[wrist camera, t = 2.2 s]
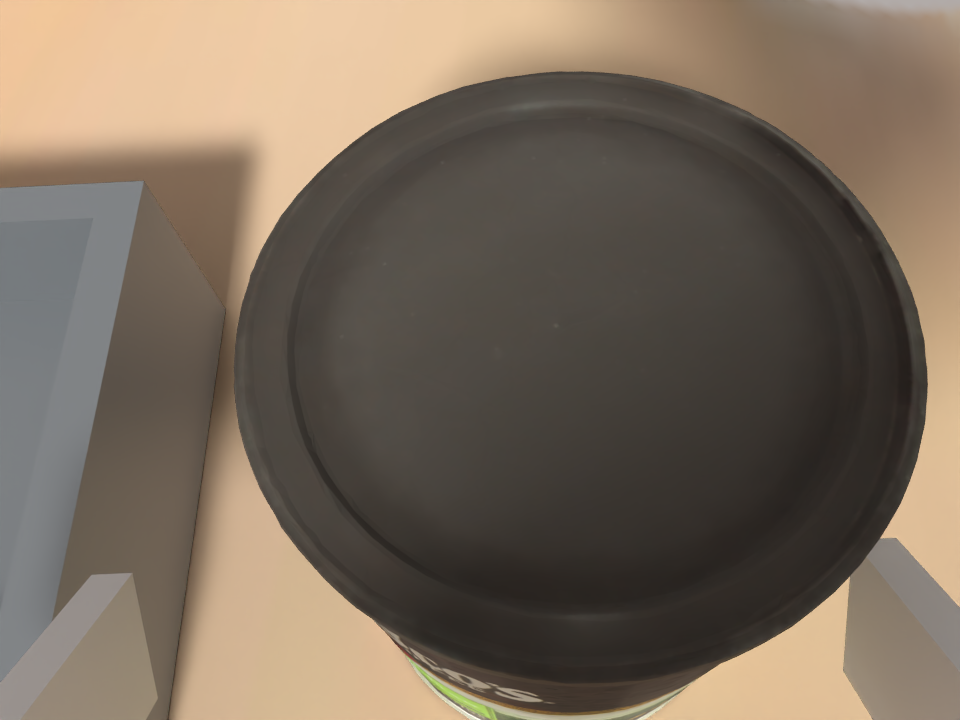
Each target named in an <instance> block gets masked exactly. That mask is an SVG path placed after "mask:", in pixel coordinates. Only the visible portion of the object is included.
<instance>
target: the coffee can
mask: <svg viewBox="0 0 960 720" xmlns="http://www.w3.org/2000/svg"><path fill="white" fill-rule="evenodd" d="M234 376H235V382H234V390H235V401H236V409H237V416H238V423H239V429H240V432H241V436H242V440H243V444H244V448H245V451H246V453H247V456H248V459H249V462H250V465H251V467H252V470H253V472H254V475H255V477H256V480H257V482H258V485H259V487H260V489H261V491H262V493H263V495H264V497H265V498H266V500H267V502H268V504H269V505H270V507H271V509H272V510H273V512H274V514H275V515H276V517H277V519H278V521H279V523H280V525H281V527H282V529H283V530H284V531H285V533H286V534H287V535H288V536H289V538H290V539H291V540H292V542H293V543H294V544H295V546H296V547H297V548H298V550H299V551H300V552H301V553H302V554H303V555H304V556H305V558H306V559H307V560H308V561H309V562H310V563H311V564H312V565H313V567H314V568H315V569H316V570H317V571H318V572H319V573H320V574H321V576H322V577H323V578H324V579H325V580H326V581H327V582H328V583H329V584H330V585H331V586H332V587H333V588H334V589H335V590H337V591H338V592H339V593H340V594H341V595H342V596H343V597H344V598H345V599H347V600H348V601H349V602H350V603H351V604H352V605H354V606H355V607H356V608H357V609H359V610H360V611H362V612H363V613H365V614H366V615H367V616H369V617H370V618H372V619H373V620H374V621H375V622H376V623H377V624H378V625H379V626H380V627H381V628H382V629H383V630H384V631H385V632H386V633H387V635H388V636H389V637H390V638H391V639H392V640H393V642H394V643H395V644H396V645H397V646H398V647H399V648H400V649H401V651H402V652H403V653H404V654H405V656H406V657H407V659H408V660H409V662H410V663H411V665H412V667H413V668H414V670H415V671H416V673H417V674H418V675H419V677H420V678H421V679H422V680H423V681H424V682H425V683H426V684H427V685H428V686H429V687H430V688H431V690H432V691H433V692H434V693H435V694H437V695H438V696H439V697H440V698H441V699H442V700H443V701H444V702H446V703H447V704H448V705H450V706H451V707H452V708H454V709H455V710H457V711H458V712H460V713H461V714H463V715H464V716H466V717H467V718H469V719H471V720H645V719H647V718H648V717H650V716H651V715H653V714H654V713H655V712H657V711H658V710H660V709H661V708H663V707H664V706H665V705H666V704H667V703H669V702H670V701H671V700H672V699H673V698H675V697H676V696H677V695H678V694H679V693H680V692H681V691H682V690H684V689H685V688H686V687H687V686H688V685H690V684H691V683H692V682H694V681H695V680H697V679H698V678H699V677H701V676H702V675H704V674H705V673H707V672H708V671H710V670H712V669H713V668H714V667H716V666H717V665H719V664H720V663H723V662H725V661H728V660H730V659H732V658H735V657H737V656H739V655H741V654H743V653H745V652H747V651H749V650H751V649H753V648H755V647H757V646H759V645H761V644H763V643H765V642H767V641H768V640H770V639H772V638H773V637H775V636H777V635H778V634H780V633H782V632H784V631H785V630H787V629H789V628H790V627H792V626H793V625H795V624H796V623H797V622H798V621H800V620H801V619H802V618H804V617H805V616H806V615H808V614H809V613H810V612H811V611H813V610H814V609H815V608H816V607H817V606H819V605H820V604H821V603H822V602H823V601H825V600H826V599H827V598H828V597H829V596H830V595H832V594H833V593H834V592H835V591H836V590H837V589H838V588H839V587H840V586H841V585H842V584H843V583H844V582H845V581H846V580H847V579H848V577H849V576H850V575H851V574H852V573H853V572H854V571H855V570H856V569H857V568H858V567H859V566H860V565H861V563H862V562H863V561H864V559H865V558H866V557H867V555H868V554H869V553H870V551H871V550H872V549H873V547H874V546H875V545H876V543H877V542H878V540H879V539H880V537H881V536H882V534H883V532H884V531H885V529H886V528H887V526H888V524H889V523H890V521H891V519H892V517H893V516H894V514H895V512H896V510H897V509H898V507H899V505H900V503H901V501H902V499H903V496H904V494H905V492H906V489H907V487H908V484H909V482H910V479H911V476H912V473H913V470H914V467H915V464H916V462H917V458H918V453H919V448H920V444H921V439H922V434H923V430H924V425H925V416H926V402H927V387H928V382H927V365H926V357H925V344H924V338H923V333H922V329H921V325H920V321H919V316H918V311H917V307H916V304H915V301H914V298H913V295H912V292H911V289H910V287H909V285H908V282H907V280H906V278H905V275H904V273H903V271H902V269H901V267H900V264H899V262H898V260H897V258H896V256H895V254H894V252H893V251H892V249H891V247H890V245H889V244H888V242H887V240H886V238H885V237H884V235H883V233H882V232H881V230H880V229H879V227H878V226H877V224H876V223H875V221H874V220H873V218H872V217H871V215H870V214H869V213H868V211H867V210H866V209H865V208H864V206H863V205H862V204H861V203H860V201H859V200H858V199H857V198H856V196H855V195H854V194H853V193H852V192H851V191H850V190H849V188H848V187H847V186H846V185H845V184H844V183H843V182H842V181H841V180H840V179H839V178H837V177H836V176H835V175H834V174H833V173H832V172H831V170H830V169H829V168H827V167H826V166H825V165H824V164H823V163H822V162H821V161H819V160H818V159H816V158H815V157H814V156H813V155H812V154H811V153H810V152H809V151H807V150H806V149H805V148H804V147H803V146H801V145H800V144H799V143H797V142H796V141H794V140H793V139H791V138H790V137H789V136H787V135H786V134H784V133H783V132H782V131H780V130H779V129H778V128H776V127H774V126H773V125H771V124H769V123H767V122H766V121H764V120H761V119H759V118H757V117H755V116H754V115H752V114H751V113H749V112H747V111H745V110H743V109H740V108H738V107H736V106H734V105H731V104H729V103H726V102H724V101H722V100H719V99H717V98H714V97H712V96H709V95H706V94H703V93H700V92H697V91H694V90H692V89H688V88H685V87H681V86H677V85H674V84H670V83H667V82H663V81H658V80H653V79H648V78H642V77H637V76H631V75H622V74H611V73H599V72H547V73H537V74H529V75H522V76H515V77H506V78H501V79H496V80H491V81H486V82H482V83H477V84H473V85H469V86H464V87H461V88H458V89H455V90H452V91H449V92H447V93H444V94H441V95H438V96H435V97H433V98H431V99H428V100H426V101H424V102H421V103H419V104H417V105H415V106H412V107H410V108H408V109H406V110H403V111H401V112H399V113H398V114H396V115H394V116H392V117H391V118H389V119H387V120H385V121H384V122H382V123H380V124H379V125H377V126H375V127H374V128H372V129H371V130H369V131H368V132H367V133H365V134H364V135H362V136H361V137H360V138H358V139H357V140H356V141H354V142H353V143H352V144H350V145H349V146H348V147H347V148H346V149H344V150H343V151H342V152H341V153H340V154H338V155H337V156H336V157H335V158H334V159H333V160H331V161H330V162H329V163H328V164H327V165H326V166H325V167H324V168H323V169H322V170H321V171H320V172H319V173H317V175H316V176H315V177H314V178H313V179H312V180H311V181H310V182H309V183H308V184H307V185H306V186H305V187H304V188H303V190H302V191H301V192H300V193H299V194H298V195H297V196H296V198H295V199H294V200H293V202H292V203H291V204H290V206H289V207H288V208H287V209H286V210H285V212H284V213H283V214H282V215H281V217H280V219H279V220H278V222H277V224H276V225H275V227H274V229H273V230H272V232H271V234H270V236H269V237H268V239H267V241H266V242H265V244H264V246H263V248H262V250H261V252H260V254H259V256H258V259H257V261H256V264H255V267H254V269H253V271H252V273H251V275H250V281H249V284H248V287H247V290H246V293H245V296H244V300H243V303H242V307H241V312H240V318H239V323H238V328H237V336H236V346H235V359H234Z"/></svg>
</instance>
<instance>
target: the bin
mask: <svg viewBox="0 0 960 720" xmlns="http://www.w3.org/2000/svg"><path fill="white" fill-rule="evenodd" d="M225 310H226V309H225V308H224V306H223V304H222V303H221V301H220V300H219V298H218V297H217V295H216V293H215V292H214V290H213V289H212V287H211V286H210V284H209V282H208V281H207V279H206V278H205V276H204V275H203V273H202V271H201V270H200V268H199V267H198V265H197V264H196V262H195V260H194V259H193V257H192V256H191V254H190V253H189V251H188V249H187V248H186V246H185V245H184V243H183V242H182V240H181V238H180V237H179V235H178V234H177V232H176V231H175V229H174V227H173V226H172V224H171V223H170V221H169V219H168V218H167V216H166V215H165V213H164V212H163V210H162V208H161V207H160V205H159V204H158V202H157V201H156V199H155V197H154V196H153V194H152V193H151V191H150V190H149V188H148V186H147V185H146V183H145V182H144V181H130V182H110V183H90V184H71V185H51V186H31V187H11V188H0V682H1V681H2V680H3V679H4V678H5V677H6V675H7V674H8V673H9V672H10V671H11V669H12V668H13V667H14V666H15V665H16V664H17V662H18V661H19V660H20V659H21V658H22V656H23V655H24V654H25V653H26V652H27V651H28V649H29V648H30V647H31V646H32V645H33V643H34V642H35V641H36V640H37V639H38V638H39V636H40V635H41V634H42V633H43V632H44V630H45V629H46V628H47V627H48V626H49V625H50V623H51V622H52V621H53V620H54V619H55V617H56V616H57V615H58V614H59V613H60V612H61V610H62V609H63V608H64V607H65V606H66V604H67V603H68V602H69V601H70V600H71V599H72V597H73V596H74V595H75V594H76V593H77V591H78V590H79V589H80V588H81V587H82V586H83V584H84V583H85V582H86V581H87V580H88V578H89V577H90V576H91V575H97V574H119V573H133V578H134V583H135V588H136V593H137V598H138V603H139V608H140V613H141V618H142V622H143V627H144V632H145V637H146V642H147V647H148V652H149V657H150V662H151V667H152V672H153V676H154V681H155V686H156V691H157V696H158V699H157V701H156V703H155V704H154V706H153V708H152V710H151V712H150V713H149V715H148V717H147V719H146V720H167V719H168V712H169V705H170V698H171V691H172V684H173V677H174V670H175V663H176V656H177V649H178V642H179V635H180V627H181V620H182V613H183V606H184V599H185V592H186V585H187V578H188V571H189V564H190V557H191V550H192V543H193V536H194V529H195V522H196V515H197V508H198V500H199V493H200V486H201V479H202V472H203V465H204V458H205V451H206V444H207V437H208V430H209V423H210V416H211V409H212V402H213V395H214V388H215V381H216V373H217V366H218V359H219V352H220V345H221V338H222V331H223V324H224V317H225Z"/></svg>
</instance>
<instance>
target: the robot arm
mask: <svg viewBox="0 0 960 720" xmlns="http://www.w3.org/2000/svg"><path fill="white" fill-rule="evenodd" d="M843 671H844V673H845V674H846V676H847V678H848V679H849V681H850V683H851V684H852V686H853V688H854V689H855V691H856V692H857V694H858V696H859V697H860V699H861V701H862V702H863V704H864V706H865V707H866V709H867V711H868V712H869V714H870V715H871V717H872V719H873V720H960V607H959V606H958V605H957V604H956V603H955V602H954V601H953V600H952V599H951V598H950V597H949V595H948V594H947V593H946V592H945V591H944V590H943V589H942V588H941V587H940V586H939V584H938V583H937V582H936V581H935V580H934V579H933V578H932V577H931V576H930V575H929V573H928V572H927V571H926V570H925V569H924V568H923V567H922V566H921V565H920V564H919V563H918V561H917V560H916V559H915V558H914V557H913V556H912V555H911V554H910V553H909V552H908V550H907V549H906V548H905V547H904V546H903V545H902V544H901V543H900V542H899V541H898V539H897V538H883V539H879V540H878V542H877V543H876V545H875V546H874V547H873V549H872V550H871V551H870V553H869V554H868V555H867V557H866V558H865V559H864V561H863V562H862V563H861V565H860V566H859V567H858V568H857V569H856V570H855V571H854V572H853V573H852V574H851V575H850V584H849V597H848V611H847V624H846V638H845V651H844V665H843ZM157 699H158V696H157V691H156V686H155V681H154V676H153V672H152V667H151V662H150V657H149V652H148V647H147V642H146V637H145V632H144V627H143V622H142V618H141V613H140V608H139V603H138V598H137V593H136V588H135V583H134V578H133V573H119V574H97V575H91V576H90V577H89V578H88V580H87V581H86V582H85V583H84V584H83V586H82V587H81V588H80V589H79V590H78V591H77V593H76V594H75V595H74V596H73V597H72V599H71V600H70V601H69V602H68V603H67V604H66V606H65V607H64V608H63V609H62V610H61V612H60V613H59V614H58V615H57V616H56V617H55V619H54V620H53V621H52V622H51V623H50V625H49V626H48V627H47V628H46V629H45V630H44V632H43V633H42V634H41V635H40V636H39V638H38V639H37V640H36V641H35V642H34V643H33V645H32V646H31V647H30V648H29V649H28V651H27V652H26V653H25V654H24V655H23V656H22V658H21V659H20V660H19V661H18V662H17V664H16V665H15V666H14V667H13V668H12V669H11V671H10V672H9V673H8V674H7V675H6V677H5V678H4V679H3V680H2V681H1V682H0V720H146V719H147V717H148V715H149V713H150V712H151V710H152V708H153V706H154V704H155V703H156V701H157Z"/></svg>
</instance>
